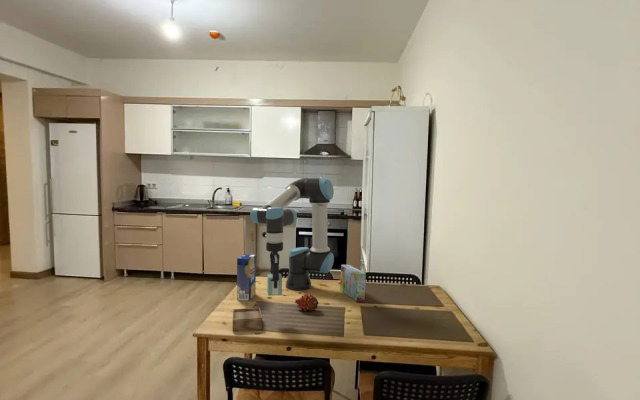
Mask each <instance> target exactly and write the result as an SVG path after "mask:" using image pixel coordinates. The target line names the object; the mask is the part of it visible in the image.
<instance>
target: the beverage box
mask: <svg viewBox="0 0 640 400" xmlns="http://www.w3.org/2000/svg"><path fill="white" fill-rule="evenodd" d="M256 260H257V254H250V253H249V254H245V253H244V254H242V255H241V256H239V257H237V259H236V300H237V301H248V300H250V299H251V300H252V298H253V297H254V296H255V295H256V293H257V292H256V290H257V287H256V283H257V280H256V276H257V275H256V273H257V272H256V271H257V269H256V268H257V267H256V265H257V261H256ZM251 300H250V301H251Z"/></svg>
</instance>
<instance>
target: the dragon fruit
mask: <svg viewBox="0 0 640 400" xmlns="http://www.w3.org/2000/svg"><path fill="white" fill-rule="evenodd" d="M294 304H296V306H297V308H298V309H302V310H303V311H304V312H307V311H308V312H312V311H313V310H316V309H318V308H319V307H318V305H319V300H318V299H317V297H315V296H314V295H312V294H310V293H309V294H305V293H304V294H303V295H301V297H300V298H297V299H296V300H295V301H294Z"/></svg>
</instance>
